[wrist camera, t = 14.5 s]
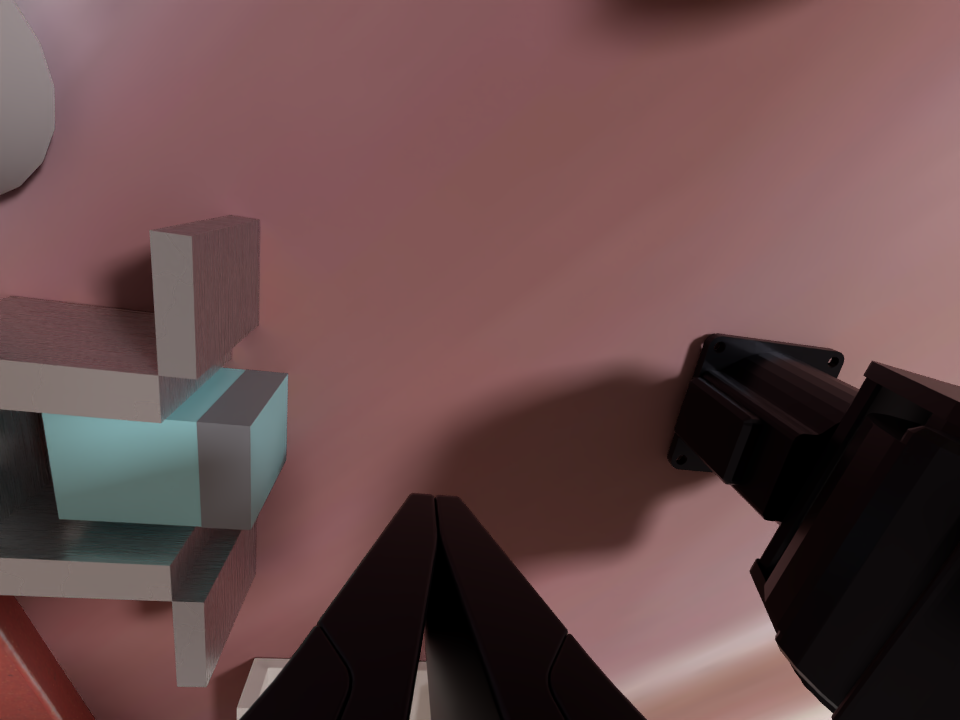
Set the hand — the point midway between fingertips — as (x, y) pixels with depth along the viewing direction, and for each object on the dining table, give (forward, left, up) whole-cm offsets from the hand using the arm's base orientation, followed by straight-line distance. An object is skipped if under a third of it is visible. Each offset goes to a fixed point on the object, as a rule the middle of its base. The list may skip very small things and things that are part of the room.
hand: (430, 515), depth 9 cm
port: (+10, +5, -12) cm, 17 cm away
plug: (+8, +5, -12) cm, 15 cm away
